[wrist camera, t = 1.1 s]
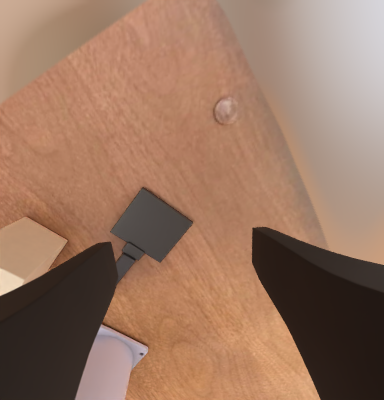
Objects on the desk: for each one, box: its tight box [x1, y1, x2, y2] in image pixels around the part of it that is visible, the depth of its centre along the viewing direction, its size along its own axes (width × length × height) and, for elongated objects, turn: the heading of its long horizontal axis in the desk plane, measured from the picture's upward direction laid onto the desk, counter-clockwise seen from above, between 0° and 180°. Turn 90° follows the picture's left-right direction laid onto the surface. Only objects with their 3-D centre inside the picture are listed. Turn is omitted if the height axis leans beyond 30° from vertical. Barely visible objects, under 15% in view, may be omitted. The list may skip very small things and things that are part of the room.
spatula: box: [110, 187, 193, 283], centre depth 21 cm, size 13×6×1 cm, turn 141°
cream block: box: [0, 216, 68, 296], centre depth 17 cm, size 4×4×6 cm
